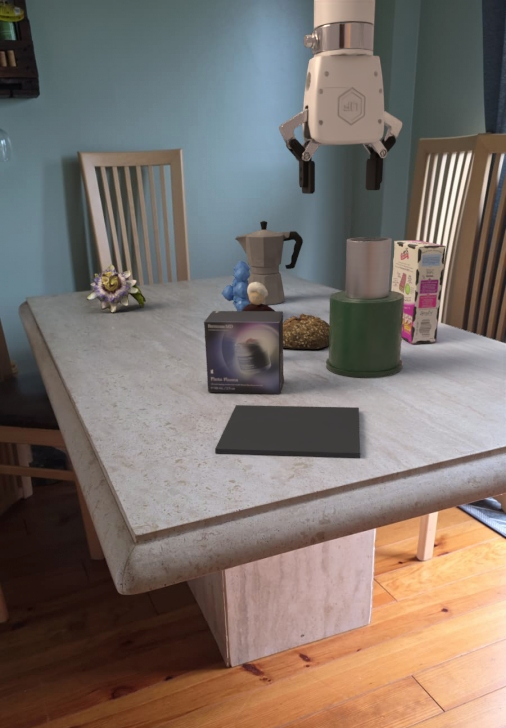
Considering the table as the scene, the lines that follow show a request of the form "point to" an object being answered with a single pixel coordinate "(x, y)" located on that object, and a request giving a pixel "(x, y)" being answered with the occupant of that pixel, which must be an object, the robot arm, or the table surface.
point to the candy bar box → (419, 287)
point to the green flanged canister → (365, 335)
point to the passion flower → (114, 289)
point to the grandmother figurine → (257, 298)
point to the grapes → (238, 287)
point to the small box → (244, 351)
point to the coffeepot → (269, 259)
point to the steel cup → (368, 267)
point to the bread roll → (305, 332)
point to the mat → (292, 431)
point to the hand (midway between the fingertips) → (340, 191)
